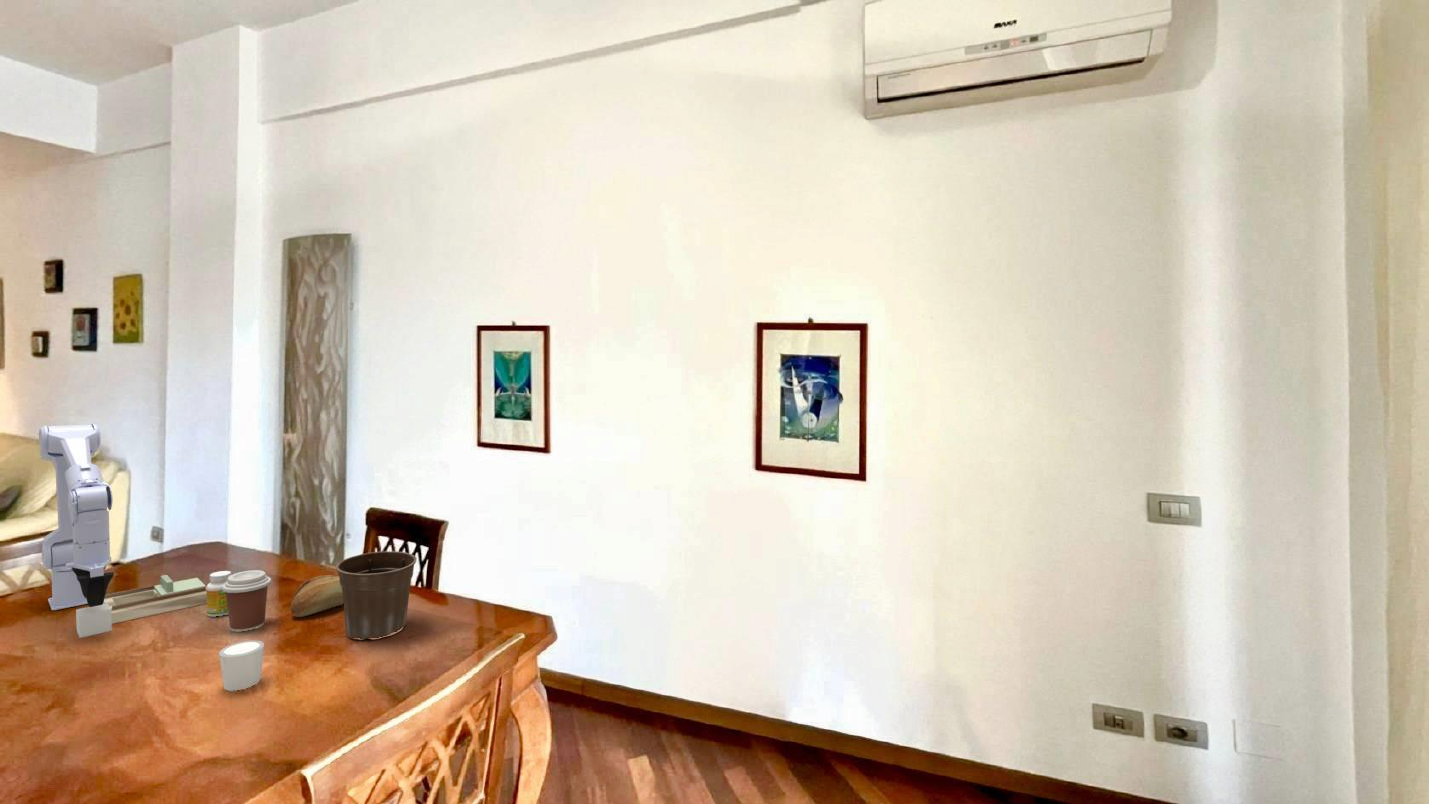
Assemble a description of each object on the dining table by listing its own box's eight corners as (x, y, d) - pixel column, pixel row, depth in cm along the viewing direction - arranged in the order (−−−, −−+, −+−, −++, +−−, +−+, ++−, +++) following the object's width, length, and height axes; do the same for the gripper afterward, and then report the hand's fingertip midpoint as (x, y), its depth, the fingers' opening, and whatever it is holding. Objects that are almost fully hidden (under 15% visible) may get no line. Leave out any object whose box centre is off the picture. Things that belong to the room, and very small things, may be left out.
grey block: (76, 631, 138) (76, 609, 138) (107, 624, 142) (107, 603, 142) (79, 638, 135) (79, 615, 135) (111, 631, 139) (111, 609, 138)
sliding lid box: (101, 606, 151) (100, 592, 151) (195, 587, 165) (195, 574, 165) (111, 624, 142) (111, 609, 142) (210, 602, 156) (210, 589, 156)
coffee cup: (232, 638, 137) (231, 585, 136) (215, 627, 142) (214, 576, 141) (279, 624, 145) (278, 573, 144) (261, 614, 150) (260, 565, 149)
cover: (154, 589, 156) (153, 576, 156) (197, 580, 163) (197, 568, 163) (161, 598, 151) (161, 584, 151) (205, 589, 158) (205, 576, 157)
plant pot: (431, 624, 147) (432, 557, 146) (368, 652, 133) (368, 578, 132) (385, 611, 154) (385, 547, 153) (320, 636, 140) (319, 565, 139)
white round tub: (235, 674, 122) (235, 639, 122) (272, 674, 123) (272, 639, 122) (210, 693, 115) (209, 656, 115) (249, 692, 116) (249, 656, 115)
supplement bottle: (219, 618, 147) (218, 578, 146) (200, 616, 148) (200, 576, 147) (240, 609, 152) (240, 570, 151) (222, 607, 153) (222, 568, 152)
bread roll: (278, 616, 149) (278, 584, 149) (337, 596, 163) (337, 566, 162) (305, 624, 145) (305, 591, 145) (363, 602, 159) (363, 572, 159)
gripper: (61, 537, 139) (63, 597, 139) (69, 551, 129) (71, 615, 130) (105, 531, 144) (107, 589, 145) (116, 544, 135) (117, 605, 136)
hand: (93, 601), depth 138 cm, fingers open, 7 cm apart
